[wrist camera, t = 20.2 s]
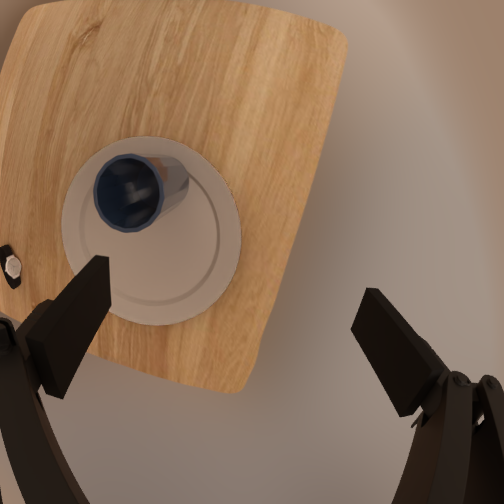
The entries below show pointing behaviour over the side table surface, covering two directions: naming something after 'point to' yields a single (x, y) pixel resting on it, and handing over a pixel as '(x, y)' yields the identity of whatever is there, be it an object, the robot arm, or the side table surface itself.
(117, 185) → the tumbler
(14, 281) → the watch
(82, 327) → the robot arm
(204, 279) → the plate
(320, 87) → the side table surface
